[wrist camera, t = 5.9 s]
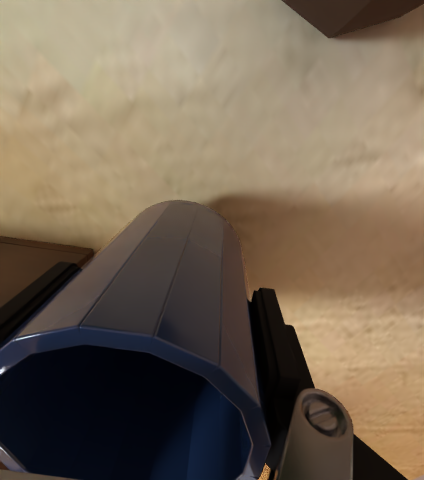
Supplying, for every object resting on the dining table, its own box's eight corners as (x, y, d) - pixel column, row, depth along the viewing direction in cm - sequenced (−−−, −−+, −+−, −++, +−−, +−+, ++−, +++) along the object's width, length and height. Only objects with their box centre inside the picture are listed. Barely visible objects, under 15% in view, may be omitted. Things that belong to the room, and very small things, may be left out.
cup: (120, 191, 13) (-78, 306, 4) (253, 209, 13) (306, 355, 4) (123, 300, 15) (3, 499, 7) (232, 315, 15) (241, 530, 7)
